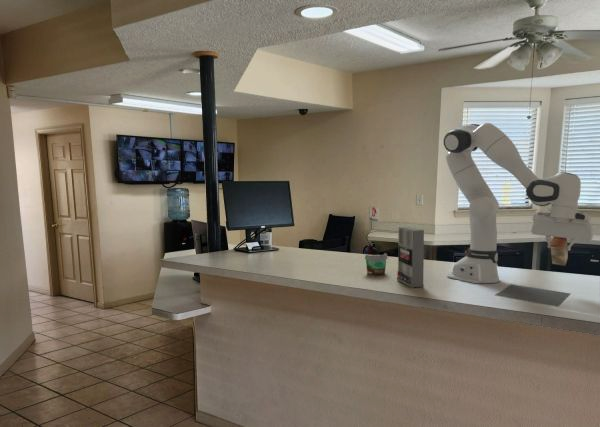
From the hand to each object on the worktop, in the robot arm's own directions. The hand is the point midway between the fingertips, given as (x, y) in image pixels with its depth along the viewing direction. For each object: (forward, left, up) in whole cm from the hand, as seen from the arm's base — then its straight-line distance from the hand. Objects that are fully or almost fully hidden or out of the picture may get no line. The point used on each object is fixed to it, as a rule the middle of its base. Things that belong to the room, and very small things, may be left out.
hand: (558, 249), depth 160 cm
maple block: (0, +5, -5) cm, 7 cm away
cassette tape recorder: (-54, -19, -19) cm, 60 cm away
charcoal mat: (-8, -4, -19) cm, 21 cm away
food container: (-74, -13, -19) cm, 77 cm away
